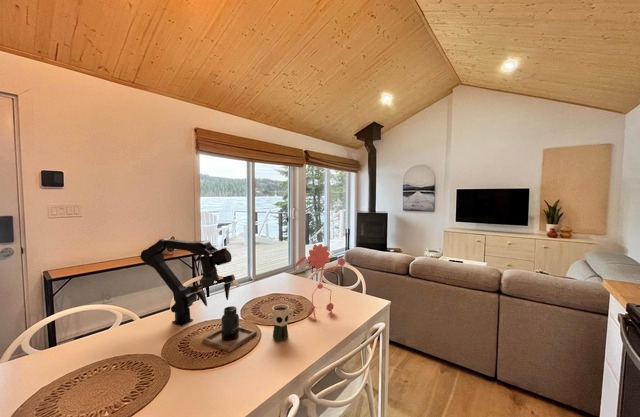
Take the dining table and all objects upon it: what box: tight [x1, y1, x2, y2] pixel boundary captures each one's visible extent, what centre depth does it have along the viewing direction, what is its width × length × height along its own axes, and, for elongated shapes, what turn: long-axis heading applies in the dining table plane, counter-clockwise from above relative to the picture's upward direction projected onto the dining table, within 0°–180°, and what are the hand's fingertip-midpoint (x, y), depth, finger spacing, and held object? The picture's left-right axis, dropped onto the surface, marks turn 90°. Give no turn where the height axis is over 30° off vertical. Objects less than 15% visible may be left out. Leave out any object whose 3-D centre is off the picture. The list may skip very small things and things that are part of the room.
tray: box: [201, 325, 257, 353], centre depth 114 cm, size 15×15×2 cm
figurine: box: [294, 243, 346, 321], centre depth 139 cm, size 15×26×35 cm, turn 116°
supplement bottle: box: [220, 306, 240, 341], centre depth 114 cm, size 7×7×12 cm
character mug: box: [267, 304, 294, 342], centre depth 114 cm, size 11×7×13 cm, turn 118°
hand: (217, 303), depth 123 cm, fingers open, 9 cm apart
